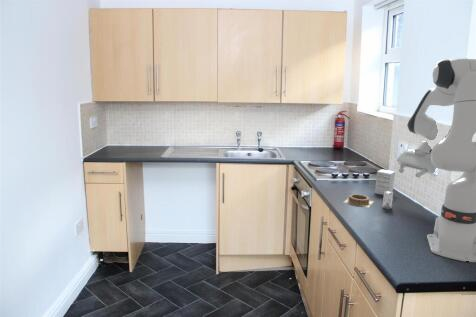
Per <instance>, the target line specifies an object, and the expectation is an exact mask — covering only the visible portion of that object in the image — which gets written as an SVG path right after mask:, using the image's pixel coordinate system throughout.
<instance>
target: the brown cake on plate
mask: <svg viewBox="0 0 476 317" xmlns="http://www.w3.org/2000/svg"><path fill="white" fill-rule="evenodd" d="M370 198H371V197H369V196H367V195H365V194H360V193H352V194H349V195H348V198H346V199H345V200H344V201H343V202H342V203H343V204H346V205H347V204H348V205H351V206H355V207H356V206H357V207H361V208H370V207H371V206H372V205H373V203H374V200H371V199H370Z"/></svg>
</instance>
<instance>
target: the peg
mask: <svg viewBox="0 0 476 317" xmlns="http://www.w3.org/2000/svg"><path fill="white" fill-rule="evenodd" d="M393 200H394V192H390V191H384V195H383V199H382V208H383V209H386V210H391V209H392V207H393Z"/></svg>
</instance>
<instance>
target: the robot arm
mask: <svg viewBox="0 0 476 317" xmlns="http://www.w3.org/2000/svg"><path fill="white" fill-rule="evenodd" d="M432 81H433V83H434V84H435V87H433V88H429V89H428V90H427V91H426V92H425V94H424V95H423V96H422V98H421V100H420V102H419V103H418V105H417V107H416V108H415V110H414V112H413V114H412V115H411V117H410V118H409V120H408V122H407V125H406V126H407V128H408V130H409V132H410V133H412V134H416V135H418V136H420V137H422V138H427V140H428V139H429V140H434V139H435V138H436V136H437V133H438V129H437V125H436V121H435V120H434V119H435V118H434V119H433V117H432V116H429V115H427V114H426V112H427V111H428V109H429V107H430V106H439V107H449V106H453V113H452V114H453V115H452V122H451V125H450V130H449V132H448V134H447V135H446V136H445V138H444V139H442V140H441V141H440V142H438V143H437V144H436V145H435V146H434V147H433V149H431V147H430V146H429V145H428V143H427V141H423V140H422V141H420V142H419V144H418V145H417V147H416V148H415V149H405V150H404V151H402V153H401V154H400V155H399V156H398V157H397V158H396V162H397V164H398V165H399V169H398V172H399V173H400V174H403V173H404V171H405V170H404V168H406V167H407V168H411V169H415V170H418V171H419V172H416V173H415V175H414V176H415V177H416V178H418V179H419V178H420V177H422V176H423V175H425V174H426V173H430V174H435V173H436V172H435V169H436V168H438V170H439V169H440V170H443V171H447V172H457V173H458V172H461V173H462V175H461V176H459V177H458V178H457V179H455V180H452V181H451V182H450V183H448V184H447V186H446V188H445V195H444V200H443V204H442V205H441V209H440V210H441V211H440V215H439V216H437V217H436V218H435V223H434V227H433V230H432V234H431V233H429V234H427V236H426V239H427V241H428V242H427V243H428V246H429V249H430V251H431V253H433V254H435V255H438V256H441V257H443V258H447V259H450V260H451V259H453V260H456V261H461V262H466V261H469V262H468V263H476V141H473V138H474V136H475V134H476V59H475V58H455V59H448V58H447V59H446V58H445V59H441V60H439V61H437V63H436V64H435V65H434V68H433V71H432ZM434 172H435V173H434Z"/></svg>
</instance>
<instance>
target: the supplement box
mask: <svg viewBox="0 0 476 317" xmlns="http://www.w3.org/2000/svg"><path fill="white" fill-rule="evenodd" d="M395 176H396V171H394V170H388V169H379V170H378V171H376V178H375V180H376V181H375V189H374V194H377V195H380V196H381V195H382V196H384V191H390V192H393V190H394V184H395V178H396V177H395ZM393 193H394V192H393Z"/></svg>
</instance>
